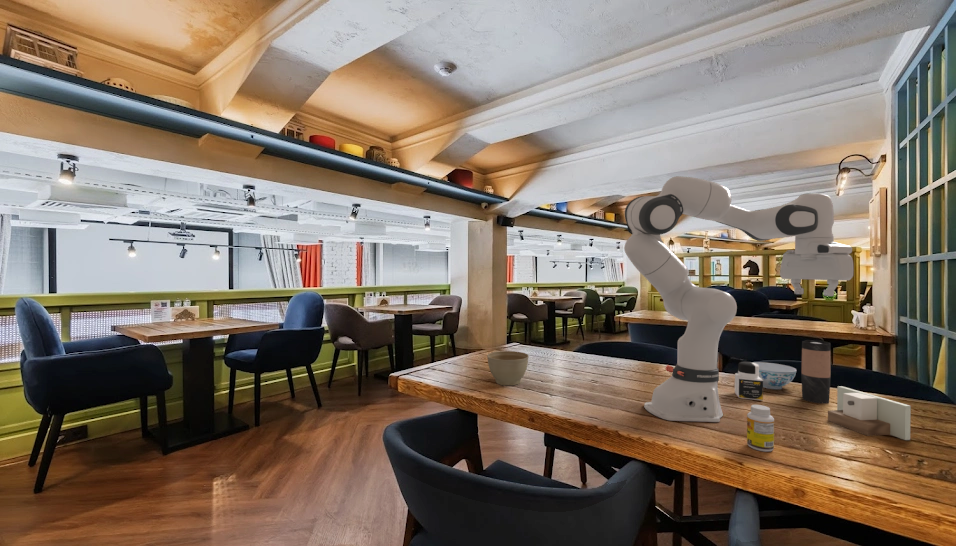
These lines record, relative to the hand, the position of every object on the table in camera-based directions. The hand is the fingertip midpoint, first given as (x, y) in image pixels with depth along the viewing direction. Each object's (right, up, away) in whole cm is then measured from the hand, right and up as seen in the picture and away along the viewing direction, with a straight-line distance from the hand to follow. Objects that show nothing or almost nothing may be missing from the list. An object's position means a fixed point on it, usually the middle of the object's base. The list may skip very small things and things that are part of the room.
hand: (813, 295), depth 121 cm
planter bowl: (-88, -37, +38) cm, 103 cm away
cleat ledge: (+8, -37, -6) cm, 38 cm away
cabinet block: (+9, -34, -6) cm, 36 cm away
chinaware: (+12, -37, +34) cm, 52 cm away
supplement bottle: (-29, -37, -19) cm, 51 cm away
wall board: (+12, -37, -5) cm, 39 cm away
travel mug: (+16, -37, +18) cm, 44 cm away
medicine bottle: (-5, -37, +22) cm, 43 cm away
